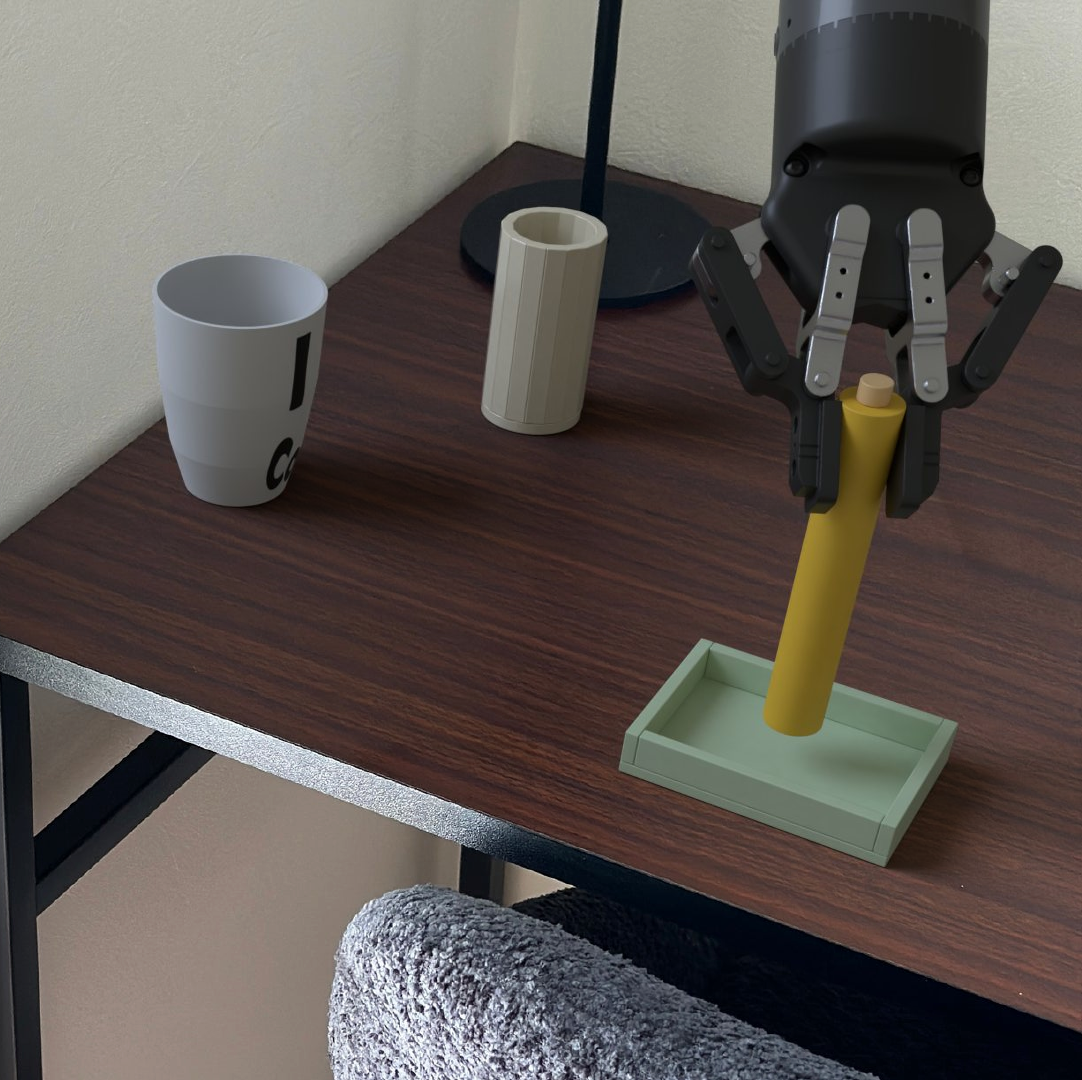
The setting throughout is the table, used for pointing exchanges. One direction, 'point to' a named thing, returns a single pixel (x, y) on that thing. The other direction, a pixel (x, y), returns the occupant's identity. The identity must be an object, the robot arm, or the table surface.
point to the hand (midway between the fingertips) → (862, 509)
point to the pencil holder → (542, 319)
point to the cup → (238, 370)
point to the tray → (789, 754)
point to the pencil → (834, 561)
